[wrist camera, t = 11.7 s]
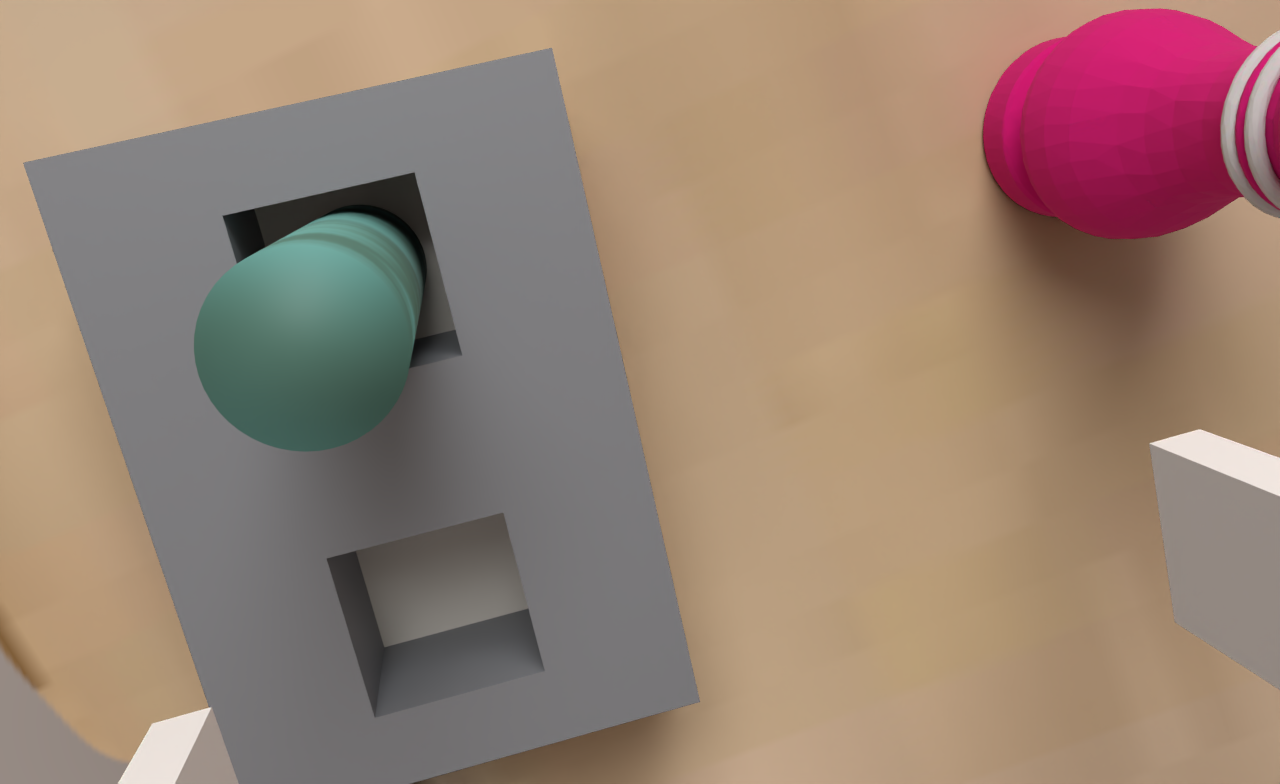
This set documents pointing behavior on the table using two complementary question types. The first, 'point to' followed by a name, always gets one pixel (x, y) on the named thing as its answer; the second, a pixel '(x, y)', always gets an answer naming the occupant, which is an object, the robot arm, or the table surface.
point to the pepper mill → (1138, 124)
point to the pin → (315, 330)
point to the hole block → (387, 436)
